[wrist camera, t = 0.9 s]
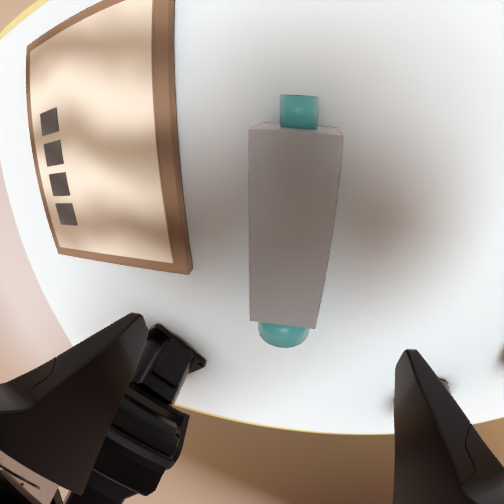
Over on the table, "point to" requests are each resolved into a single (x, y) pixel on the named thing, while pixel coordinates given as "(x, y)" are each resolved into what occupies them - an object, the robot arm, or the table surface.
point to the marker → (291, 218)
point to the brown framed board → (110, 135)
